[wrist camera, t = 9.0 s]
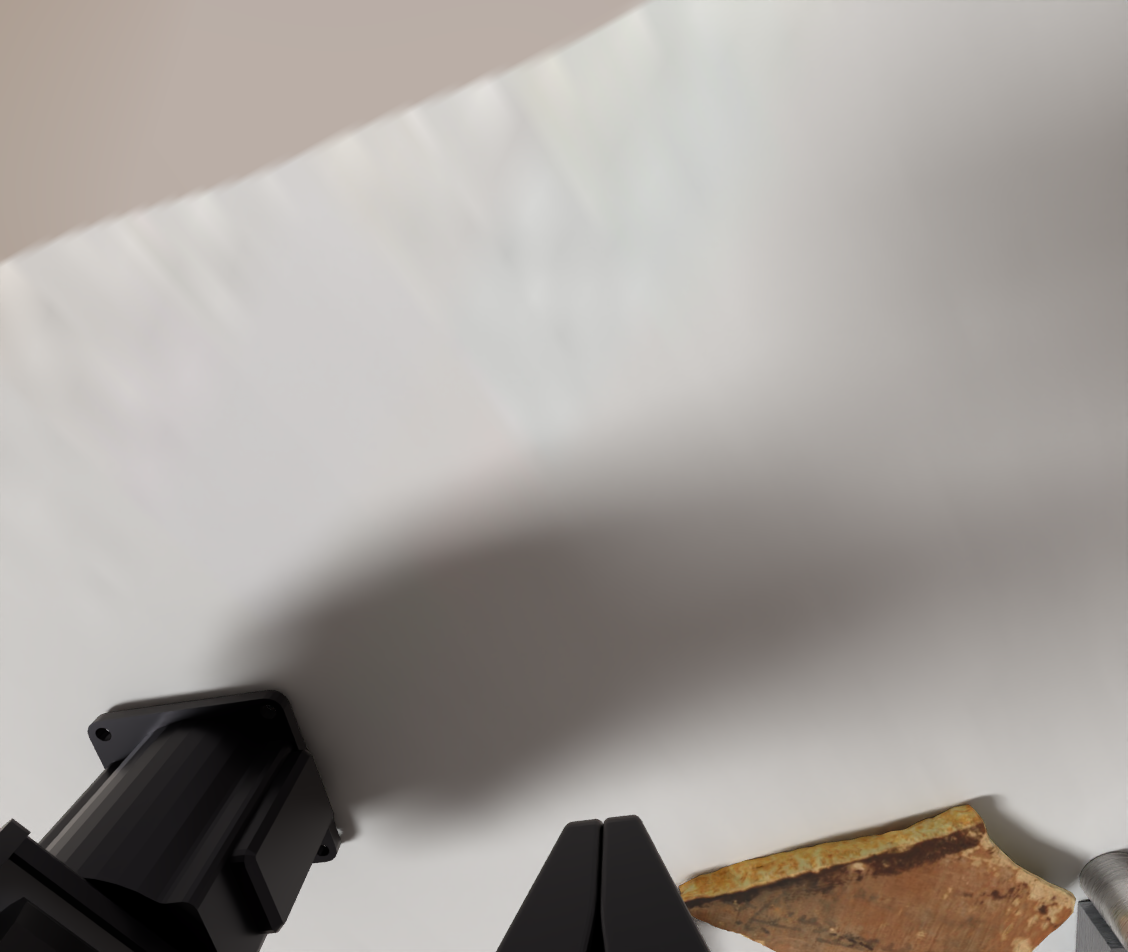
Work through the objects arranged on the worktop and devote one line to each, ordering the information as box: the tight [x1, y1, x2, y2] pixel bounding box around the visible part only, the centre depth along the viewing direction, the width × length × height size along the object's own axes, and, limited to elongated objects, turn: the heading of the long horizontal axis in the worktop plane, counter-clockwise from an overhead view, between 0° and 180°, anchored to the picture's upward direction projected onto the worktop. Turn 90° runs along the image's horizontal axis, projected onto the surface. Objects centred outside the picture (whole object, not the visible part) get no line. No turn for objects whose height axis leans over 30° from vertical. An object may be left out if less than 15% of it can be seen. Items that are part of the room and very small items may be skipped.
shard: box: [679, 805, 1076, 952], centre depth 23 cm, size 11×8×2 cm
